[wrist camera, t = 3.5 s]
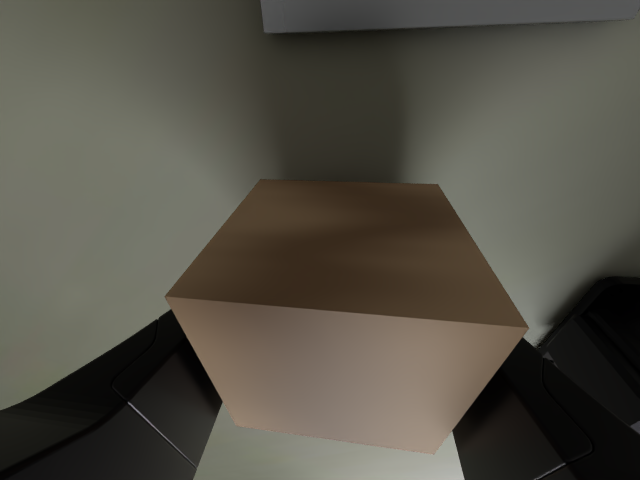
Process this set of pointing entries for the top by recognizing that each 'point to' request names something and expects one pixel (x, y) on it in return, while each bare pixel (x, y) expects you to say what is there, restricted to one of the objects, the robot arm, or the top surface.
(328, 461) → the top surface
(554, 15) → the plate
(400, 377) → the light brown cube-like block
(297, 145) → the top surface
